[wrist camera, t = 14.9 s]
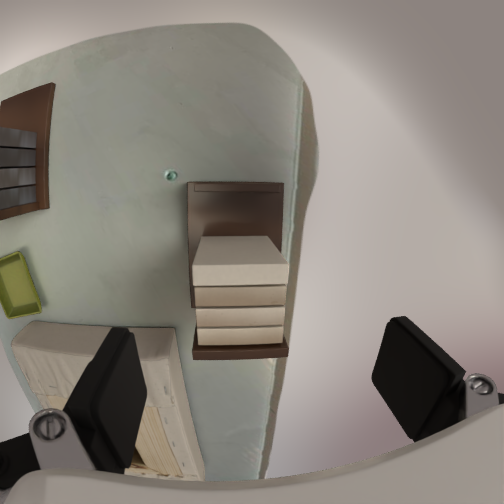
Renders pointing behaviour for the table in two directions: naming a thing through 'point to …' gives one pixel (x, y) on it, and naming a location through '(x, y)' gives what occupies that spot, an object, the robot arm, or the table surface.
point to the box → (156, 378)
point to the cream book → (238, 262)
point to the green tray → (17, 287)
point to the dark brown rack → (236, 296)
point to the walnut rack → (25, 151)
